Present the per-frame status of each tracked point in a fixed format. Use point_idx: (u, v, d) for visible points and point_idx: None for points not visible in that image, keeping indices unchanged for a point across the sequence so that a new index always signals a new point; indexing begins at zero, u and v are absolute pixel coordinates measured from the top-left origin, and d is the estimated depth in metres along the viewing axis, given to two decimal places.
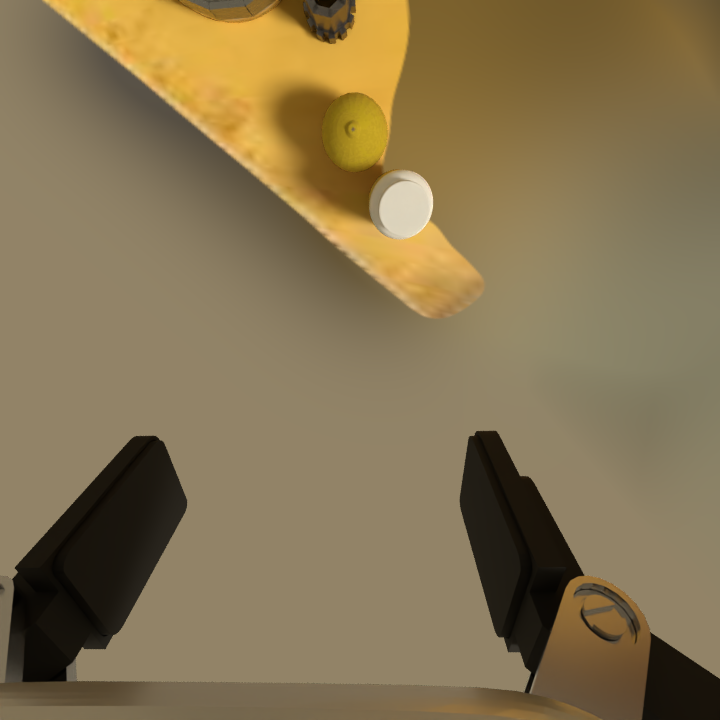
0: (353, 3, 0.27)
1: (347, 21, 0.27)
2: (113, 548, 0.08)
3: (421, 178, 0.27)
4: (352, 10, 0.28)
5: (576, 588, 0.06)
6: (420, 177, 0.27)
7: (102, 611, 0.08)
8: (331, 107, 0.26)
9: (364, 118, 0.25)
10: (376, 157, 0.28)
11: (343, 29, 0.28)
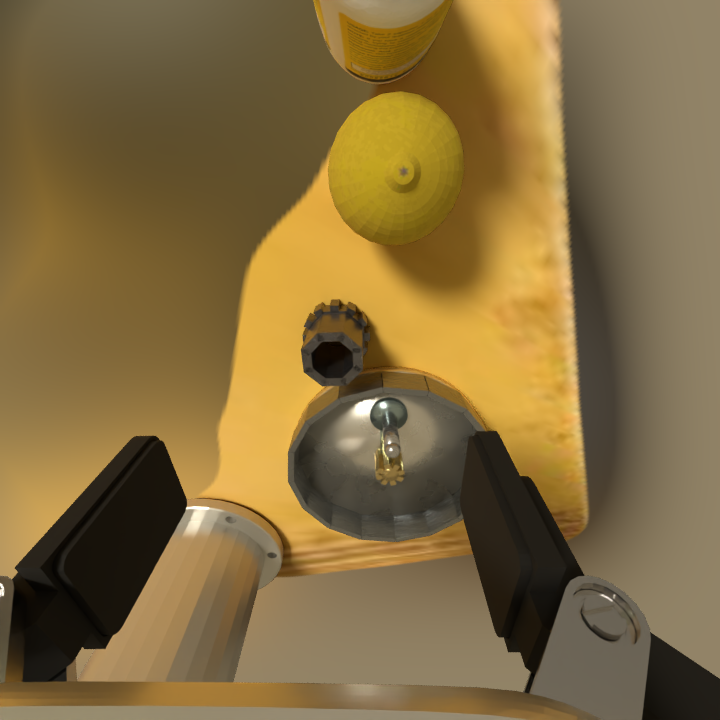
0: (308, 322, 0.20)
1: (323, 312, 0.20)
2: (113, 548, 0.08)
3: None
4: (312, 317, 0.21)
5: (576, 588, 0.06)
6: None
7: (102, 611, 0.08)
8: (411, 238, 0.14)
9: (368, 178, 0.11)
10: (381, 95, 0.12)
11: (332, 309, 0.20)
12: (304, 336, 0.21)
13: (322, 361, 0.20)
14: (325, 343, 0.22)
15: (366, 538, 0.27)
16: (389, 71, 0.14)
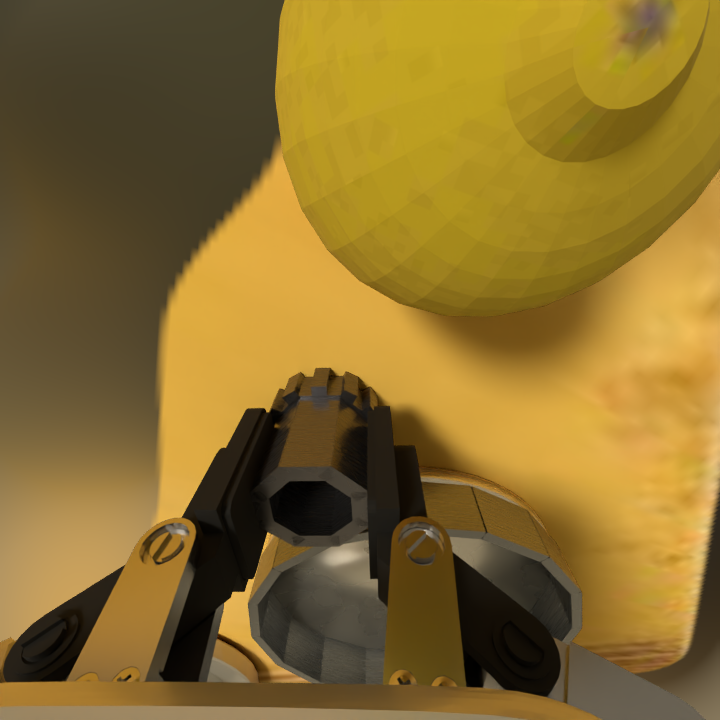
0: (273, 413, 0.11)
1: (300, 398, 0.11)
2: (251, 502, 0.09)
3: None
4: (283, 398, 0.12)
5: (406, 525, 0.07)
6: None
7: (246, 556, 0.09)
8: (525, 309, 0.05)
9: (417, 93, 0.02)
10: None
11: (316, 391, 0.11)
12: None
13: (297, 487, 0.11)
14: None
15: None
16: None
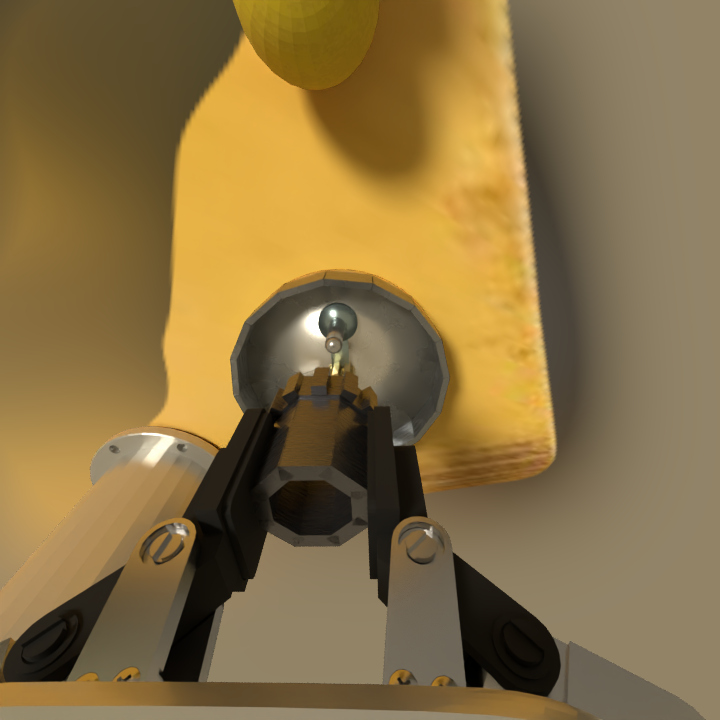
0: (273, 412, 0.11)
1: (300, 397, 0.11)
2: (251, 502, 0.09)
3: None
4: (283, 397, 0.12)
5: (406, 525, 0.07)
6: None
7: (246, 556, 0.09)
8: (321, 53, 0.12)
9: None
10: None
11: (316, 391, 0.11)
12: None
13: (296, 487, 0.11)
14: None
15: None
16: None
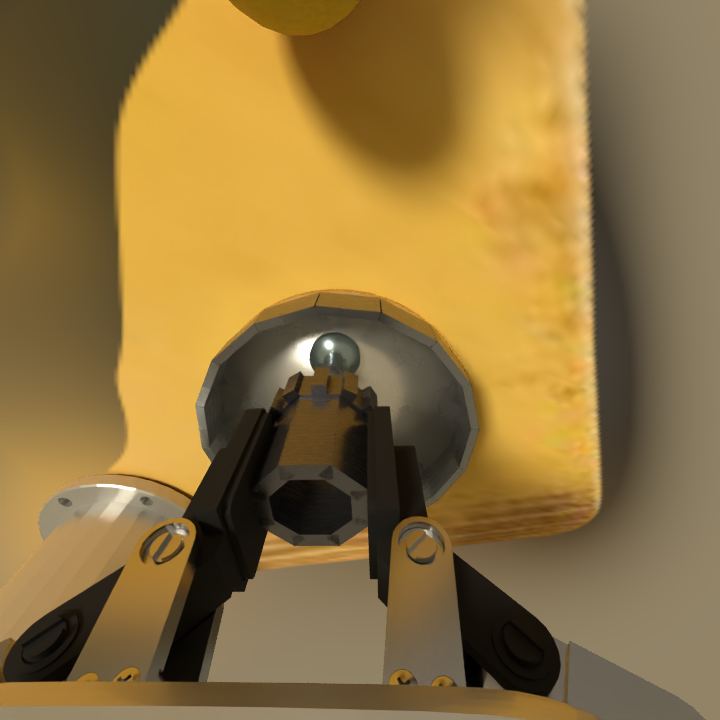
0: (273, 412, 0.11)
1: (300, 397, 0.11)
2: (251, 502, 0.09)
3: None
4: (283, 397, 0.12)
5: (406, 525, 0.07)
6: None
7: (246, 556, 0.09)
8: None
9: None
10: None
11: (316, 390, 0.11)
12: None
13: (297, 486, 0.11)
14: None
15: None
16: None
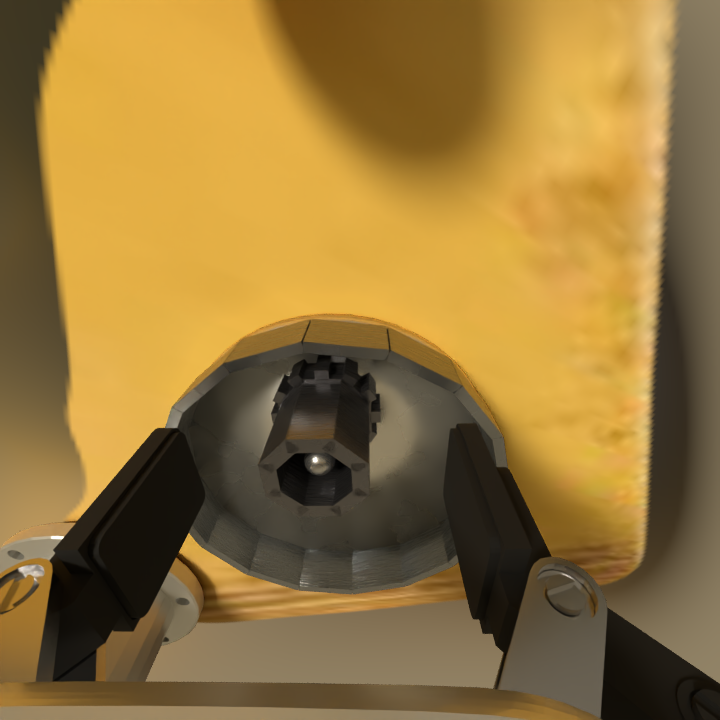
0: (279, 396, 0.12)
1: (304, 381, 0.12)
2: (141, 534, 0.08)
3: None
4: (288, 382, 0.13)
5: (541, 568, 0.06)
6: None
7: (131, 594, 0.08)
8: None
9: None
10: None
11: (319, 375, 0.12)
12: (274, 415, 0.13)
13: (301, 464, 0.12)
14: None
15: (307, 589, 0.17)
16: None
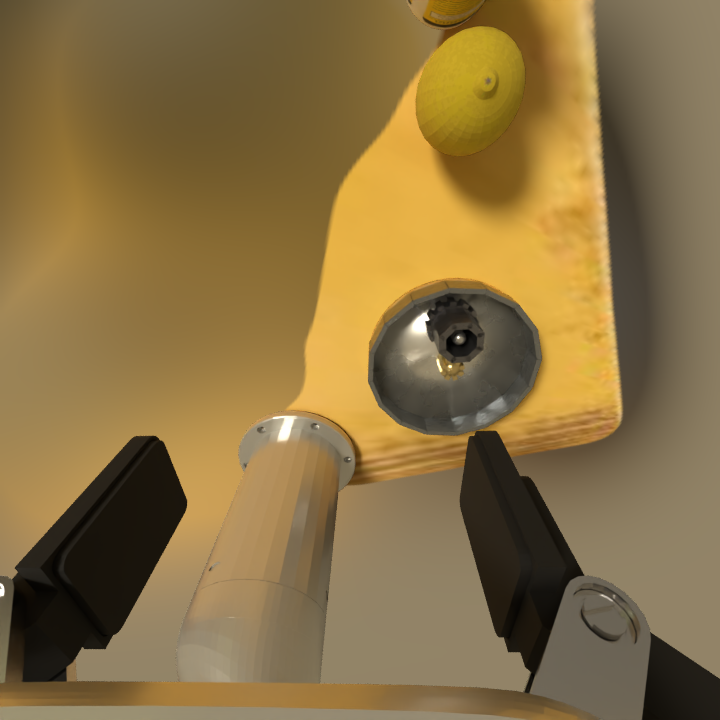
0: (432, 316, 0.27)
1: (445, 308, 0.26)
2: (113, 548, 0.08)
3: None
4: (433, 311, 0.27)
5: (576, 588, 0.06)
6: None
7: (102, 611, 0.08)
8: (484, 141, 0.18)
9: (459, 91, 0.16)
10: (464, 30, 0.16)
11: (452, 304, 0.26)
12: (428, 326, 0.27)
13: (446, 345, 0.26)
14: None
15: (430, 433, 0.32)
16: (460, 15, 0.19)
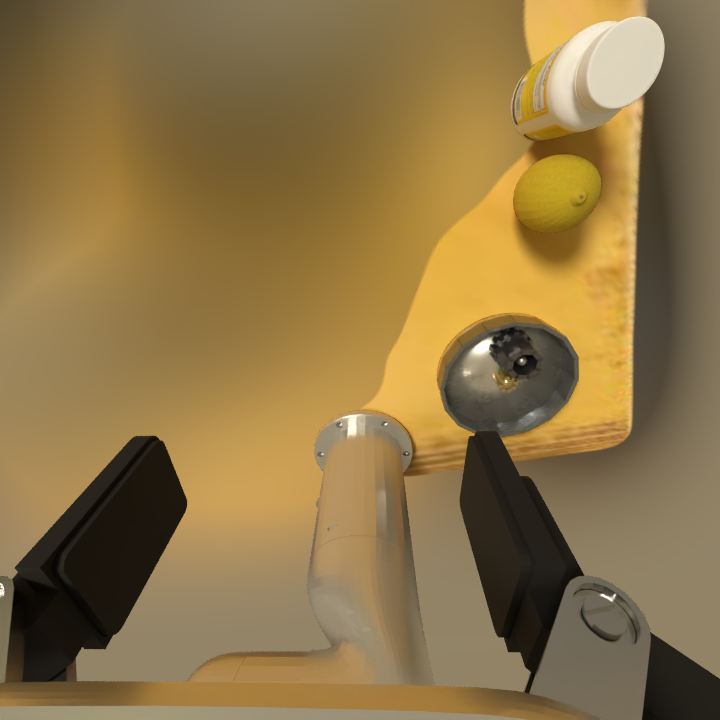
0: (498, 342, 0.35)
1: (510, 336, 0.34)
2: (113, 548, 0.08)
3: (554, 97, 0.21)
4: (498, 338, 0.35)
5: (576, 588, 0.06)
6: (554, 99, 0.21)
7: (102, 611, 0.08)
8: (567, 228, 0.26)
9: (560, 199, 0.24)
10: (563, 158, 0.24)
11: (515, 334, 0.34)
12: (494, 349, 0.35)
13: None
14: None
15: None
16: (552, 138, 0.27)
